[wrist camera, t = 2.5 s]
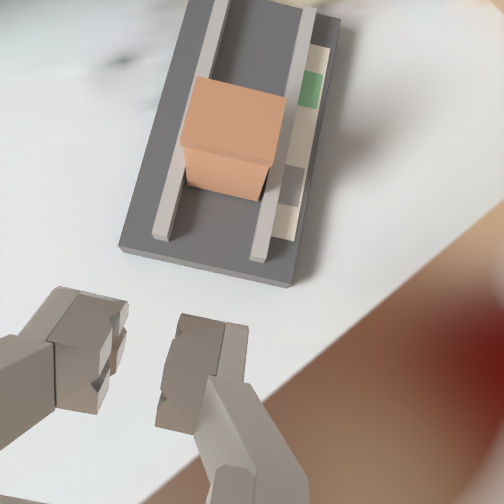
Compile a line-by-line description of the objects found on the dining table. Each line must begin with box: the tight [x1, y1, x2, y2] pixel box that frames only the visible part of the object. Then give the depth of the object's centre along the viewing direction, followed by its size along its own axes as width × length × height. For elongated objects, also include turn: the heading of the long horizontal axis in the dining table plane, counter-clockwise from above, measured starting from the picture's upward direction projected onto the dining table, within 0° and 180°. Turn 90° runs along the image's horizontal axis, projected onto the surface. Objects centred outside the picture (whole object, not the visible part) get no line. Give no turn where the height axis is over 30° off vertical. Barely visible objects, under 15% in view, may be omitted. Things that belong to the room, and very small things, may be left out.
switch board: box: [118, 0, 341, 288], centre depth 33 cm, size 22×12×4 cm, turn 169°
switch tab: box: [180, 76, 287, 201], centre depth 28 cm, size 4×5×7 cm
